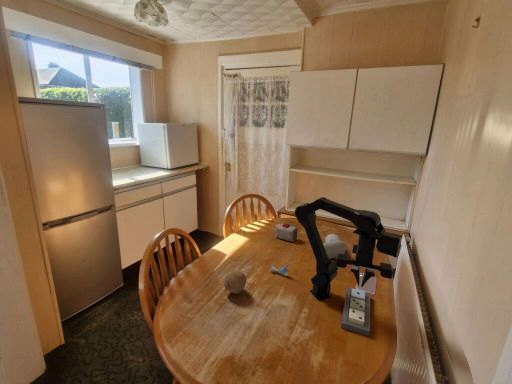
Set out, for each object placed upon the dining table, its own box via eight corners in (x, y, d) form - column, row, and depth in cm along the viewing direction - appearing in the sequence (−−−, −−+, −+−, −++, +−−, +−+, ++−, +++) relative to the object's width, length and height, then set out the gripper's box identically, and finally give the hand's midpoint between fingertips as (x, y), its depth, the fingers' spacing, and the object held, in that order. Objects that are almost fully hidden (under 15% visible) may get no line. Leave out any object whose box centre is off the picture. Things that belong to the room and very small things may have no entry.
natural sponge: (225, 301, 101) (225, 279, 98) (222, 287, 109) (222, 266, 106) (248, 297, 103) (248, 276, 100) (243, 284, 111) (243, 264, 109)
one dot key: (364, 304, 99) (364, 298, 99) (350, 300, 101) (351, 295, 101) (364, 296, 104) (365, 291, 103) (351, 293, 106) (352, 288, 105)
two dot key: (363, 327, 88) (364, 321, 87) (347, 322, 90) (348, 316, 89) (363, 317, 92) (364, 312, 92) (349, 313, 94) (349, 307, 94)
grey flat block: (369, 336, 86) (369, 331, 85) (341, 327, 89) (341, 322, 89) (369, 297, 105) (369, 293, 105) (346, 291, 109) (346, 287, 108)
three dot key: (363, 314, 94) (364, 309, 93) (349, 310, 96) (350, 305, 95) (363, 306, 98) (364, 301, 97) (350, 302, 100) (350, 297, 99)
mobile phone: (355, 288, 110) (359, 271, 123) (355, 290, 110) (359, 273, 123) (375, 293, 107) (376, 275, 120) (374, 295, 107) (376, 277, 120)
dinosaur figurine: (282, 279, 121) (270, 267, 123) (298, 263, 116) (284, 250, 118) (280, 282, 119) (268, 269, 121) (296, 265, 113) (282, 253, 115)
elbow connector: (351, 264, 128) (343, 246, 147) (349, 245, 126) (341, 229, 145) (315, 268, 131) (312, 249, 150) (312, 249, 129) (309, 233, 148)
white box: (272, 238, 158) (273, 223, 156) (278, 233, 165) (279, 219, 162) (293, 243, 151) (294, 228, 149) (298, 238, 158) (299, 224, 155)
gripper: (393, 243, 94) (386, 280, 98) (340, 233, 101) (336, 269, 105) (396, 257, 84) (388, 298, 88) (337, 245, 91) (332, 283, 95)
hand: (360, 286), depth 94 cm, fingers closed
